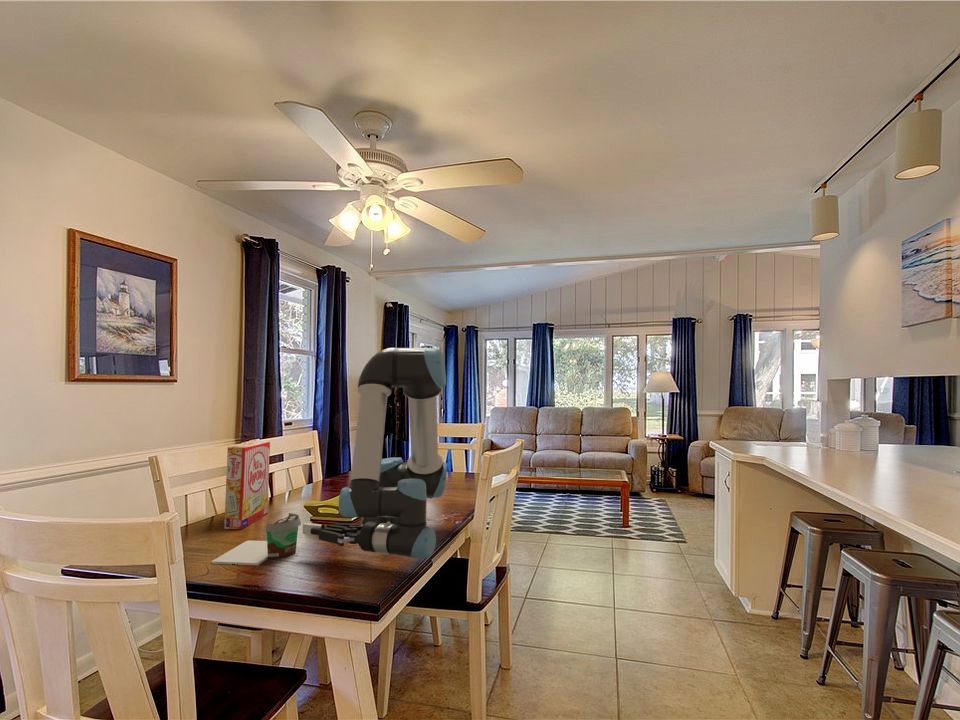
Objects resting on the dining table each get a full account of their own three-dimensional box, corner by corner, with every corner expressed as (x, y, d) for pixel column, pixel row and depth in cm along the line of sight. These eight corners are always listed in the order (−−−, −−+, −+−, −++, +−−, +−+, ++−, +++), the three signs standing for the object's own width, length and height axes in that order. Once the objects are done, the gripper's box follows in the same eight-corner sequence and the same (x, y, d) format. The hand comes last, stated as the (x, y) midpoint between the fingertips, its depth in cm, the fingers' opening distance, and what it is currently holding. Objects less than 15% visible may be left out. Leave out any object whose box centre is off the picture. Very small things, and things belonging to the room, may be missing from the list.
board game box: (242, 530, 164) (244, 447, 165) (223, 529, 164) (225, 447, 165) (268, 513, 185) (270, 440, 186) (251, 513, 185) (253, 440, 186)
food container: (285, 562, 135) (286, 525, 135) (264, 561, 136) (265, 524, 136) (308, 548, 147) (309, 513, 147) (289, 546, 148) (289, 512, 148)
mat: (288, 543, 150) (288, 541, 151) (257, 565, 133) (257, 563, 133) (247, 542, 151) (247, 540, 152) (211, 563, 134) (211, 561, 134)
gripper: (390, 516, 138) (319, 509, 146) (365, 529, 126) (288, 520, 133) (390, 544, 138) (318, 535, 145) (364, 559, 125) (288, 549, 133)
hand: (304, 528), depth 139 cm, fingers closed
